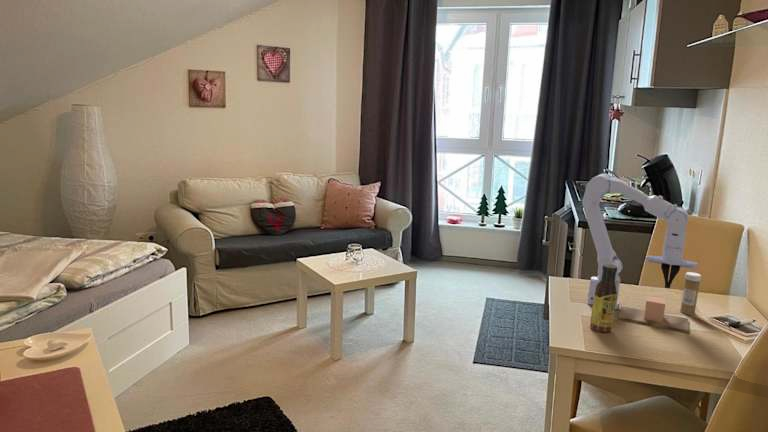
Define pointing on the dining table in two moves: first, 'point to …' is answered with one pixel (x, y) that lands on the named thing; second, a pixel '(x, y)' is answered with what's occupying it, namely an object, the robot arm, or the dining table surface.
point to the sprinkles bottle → (690, 293)
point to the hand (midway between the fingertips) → (667, 287)
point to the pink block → (654, 309)
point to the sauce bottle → (604, 300)
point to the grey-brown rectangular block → (667, 323)
